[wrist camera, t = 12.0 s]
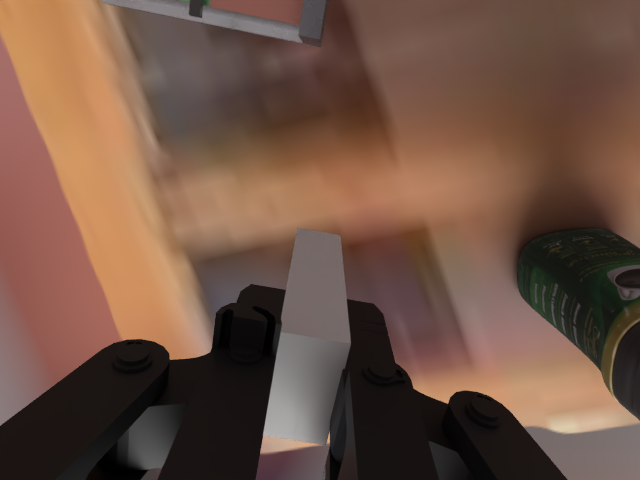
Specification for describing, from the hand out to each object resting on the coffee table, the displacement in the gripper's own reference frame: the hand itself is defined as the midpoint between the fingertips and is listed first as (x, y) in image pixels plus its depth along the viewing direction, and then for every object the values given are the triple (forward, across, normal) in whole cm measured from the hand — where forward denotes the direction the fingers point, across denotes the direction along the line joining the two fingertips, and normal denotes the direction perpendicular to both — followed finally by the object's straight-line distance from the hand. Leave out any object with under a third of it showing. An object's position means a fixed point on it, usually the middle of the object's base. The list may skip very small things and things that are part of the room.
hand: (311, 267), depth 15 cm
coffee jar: (+25, +25, -6) cm, 36 cm away
